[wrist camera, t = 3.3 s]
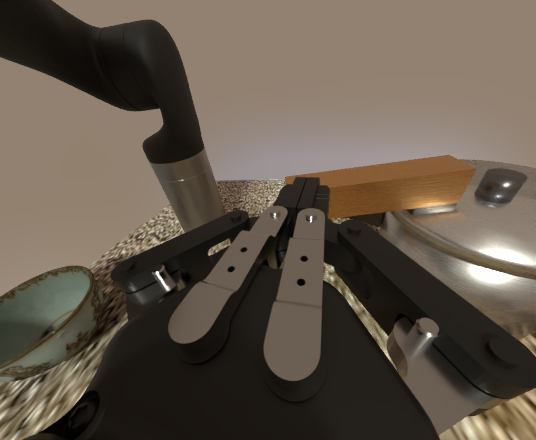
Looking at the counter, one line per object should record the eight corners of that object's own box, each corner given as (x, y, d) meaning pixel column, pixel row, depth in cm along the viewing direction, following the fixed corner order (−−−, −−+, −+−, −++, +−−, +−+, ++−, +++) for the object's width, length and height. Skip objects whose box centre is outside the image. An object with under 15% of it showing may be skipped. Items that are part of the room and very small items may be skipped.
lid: (495, 162, 29) (521, 116, 25) (743, 268, 14) (894, 193, 11) (282, 190, 30) (278, 150, 27) (306, 313, 16) (305, 260, 12)
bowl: (48, 422, 22) (-26, 405, 17) (-12, 376, 27) (-84, 353, 22) (144, 306, 32) (115, 275, 27) (89, 287, 36) (55, 257, 32)
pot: (568, 273, 28) (660, 198, 20) (619, 422, 17) (845, 378, 10) (338, 209, 45) (343, 156, 38) (294, 265, 35) (290, 206, 27)
